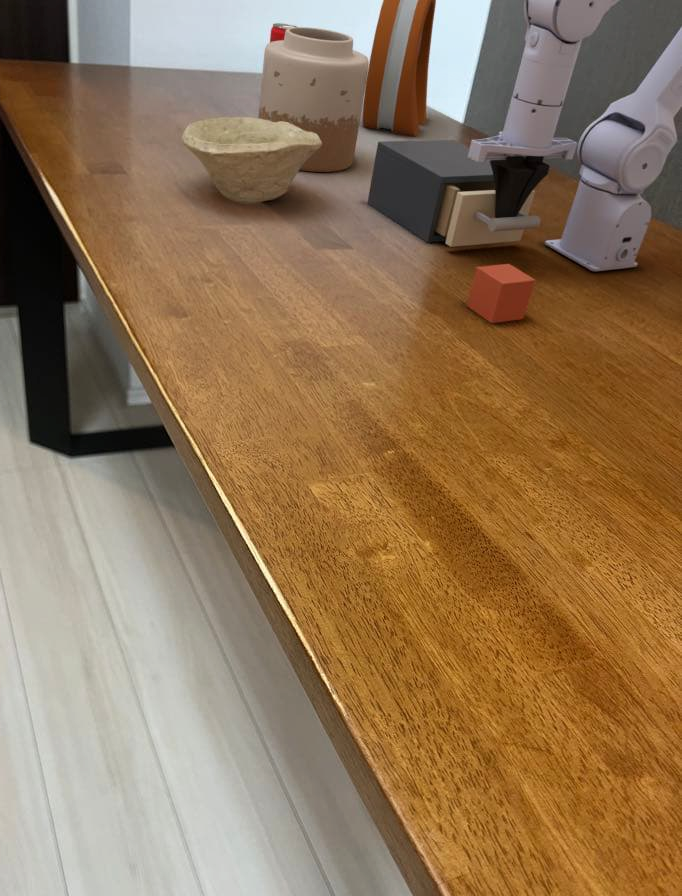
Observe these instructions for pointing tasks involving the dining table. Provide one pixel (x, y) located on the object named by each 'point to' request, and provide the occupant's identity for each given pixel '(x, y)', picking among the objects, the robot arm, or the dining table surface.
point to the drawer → (479, 216)
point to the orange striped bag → (399, 67)
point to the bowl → (250, 155)
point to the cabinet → (420, 181)
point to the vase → (316, 91)
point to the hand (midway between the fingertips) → (503, 220)
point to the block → (500, 293)
